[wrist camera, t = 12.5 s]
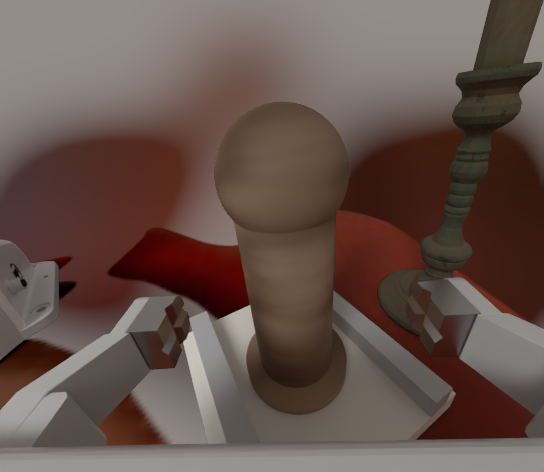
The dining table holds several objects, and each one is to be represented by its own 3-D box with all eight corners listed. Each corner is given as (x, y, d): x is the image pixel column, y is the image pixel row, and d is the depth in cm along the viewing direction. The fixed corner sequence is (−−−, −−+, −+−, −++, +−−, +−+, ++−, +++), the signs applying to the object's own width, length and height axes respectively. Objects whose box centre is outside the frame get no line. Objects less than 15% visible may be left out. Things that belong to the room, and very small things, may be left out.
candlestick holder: (407, 350, 19) (668, -653, 5) (363, 278, 27) (410, -170, 13) (523, 339, 19) (1162, -729, 4) (444, 270, 27) (584, -192, 13)
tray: (186, 347, 21) (176, 323, 20) (314, 286, 26) (313, 264, 25) (250, 600, 10) (238, 587, 8) (449, 406, 15) (463, 378, 14)
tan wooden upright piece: (234, 347, 19) (172, 114, 11) (306, 310, 22) (298, 101, 14) (278, 441, 13) (215, 105, 5) (368, 375, 16) (413, 85, 8)
